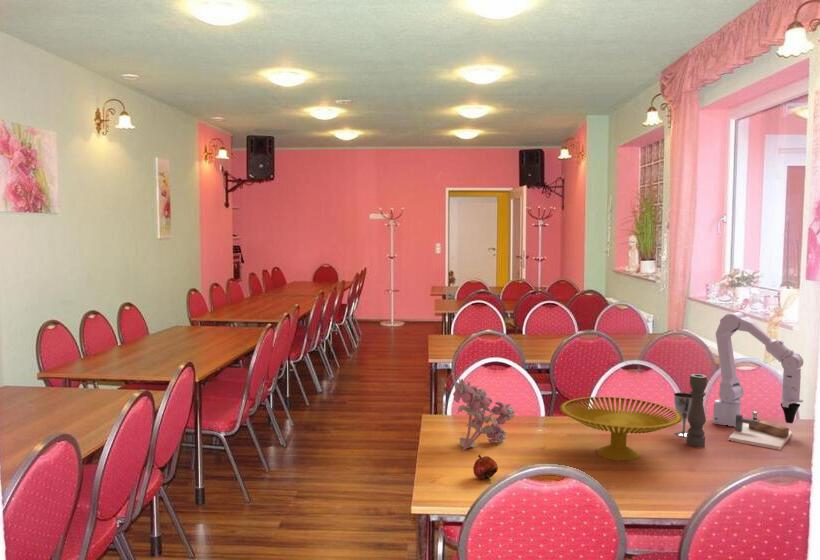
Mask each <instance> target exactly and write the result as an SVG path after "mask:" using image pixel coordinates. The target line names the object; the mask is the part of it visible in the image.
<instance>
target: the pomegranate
mask: <svg viewBox="0 0 820 560" xmlns="http://www.w3.org/2000/svg"><path fill="white" fill-rule="evenodd" d="M477 457H478V458H477V459H476V460H475V462H474V464H473V467H472V468H473V470H472V471H473V474H474V476H475V477H476V478H477V479H478V480H483V479H488V480H489V482H490V484H492V481H491V479H490V478H491V477H493V476H494V475H496V473H497V472H498V469H499V467H498V464H497V462H496V461H495V460H494V459H493V457H490V456H487V455H484V456H482V457H481V454H479V455H477Z"/></svg>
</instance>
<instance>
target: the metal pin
mask: <svg viewBox="0 0 820 560" xmlns="http://www.w3.org/2000/svg"><path fill="white" fill-rule="evenodd" d="M751 414H752V419H753V420H757V419H758V415H759V414H760V412H759V411H755V410H753V411H751Z"/></svg>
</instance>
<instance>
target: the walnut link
mask: <svg viewBox="0 0 820 560" xmlns="http://www.w3.org/2000/svg"><path fill="white" fill-rule="evenodd" d="M757 420H759V424H758V425H755V424H749V423H748V424H749V428H751V429H756V430H759V431H763V432H766V433H770V434H773V435H776V436H780V437H788V434H789V431H790V430H789V429H790V428H788V427H785V426H783V425H782V426H781V425H778V424H775V423H771V422H768V421H765V420H761V419H758V418H757Z"/></svg>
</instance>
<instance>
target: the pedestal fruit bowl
mask: <svg viewBox="0 0 820 560" xmlns="http://www.w3.org/2000/svg"><path fill="white" fill-rule="evenodd" d="M609 398H610V399H609ZM604 399H605V400H604ZM600 401H601V402H600ZM605 401H606V402H605ZM596 402H597V403H596ZM615 402H616V403H615ZM635 402H636V403H635ZM588 403H589V404H588ZM640 403H641V404H640ZM593 404H594V405H593ZM606 404H607V405H606ZM615 404H616V407H615ZM624 404H625V407H624ZM629 404H630V406H629ZM639 404H640V405H639ZM645 404H646V405H645ZM644 405H645V406H644ZM633 407H634V408H633ZM628 408H629V409H628ZM559 410H560V411H561V413H563V414H564V415H565V416H567V417H569V418H571V419H573V420H574V421H575V422H576V421H577V422H579V424H582V425H584V426H586V427H590V428H591V429H595V430H601V432H602V431H603V432H604V431H605V432H609V433H610V444H608V445H606V446H603V447H600V448H598V449H597V450H596V453H597V454H598V455H599V456H600V457H602V458H604V459H609V460H612V461H620V460H630V461H634V459H635V460H638V459H639V458H640V454H639V452H637V451H636V450H634V449H633V448H630V447H629V446H627V437H628V435H627V434H629V433H630V434H635V435H637V434H647V433H653V432H657V431H659V430H663V429H666V428H670V427H673V426H675V425H677V424H680V422H682V419H683V418H682V415H680V414H681V413H678V412H677V411H676V409H674V408H672V407H670V406H667V405H663V404H662V403H660V404H659V403H658V402H653V401H648V400H644V399H637V398H630V397H629V398H627V397H621V396H620V397H617V396H588V397H587V396H586V397H579V398H577V397H576V398H571V399H569V400H565V401H564V402H563V403H561V404H560V405H559ZM637 458H638V459H637Z"/></svg>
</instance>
